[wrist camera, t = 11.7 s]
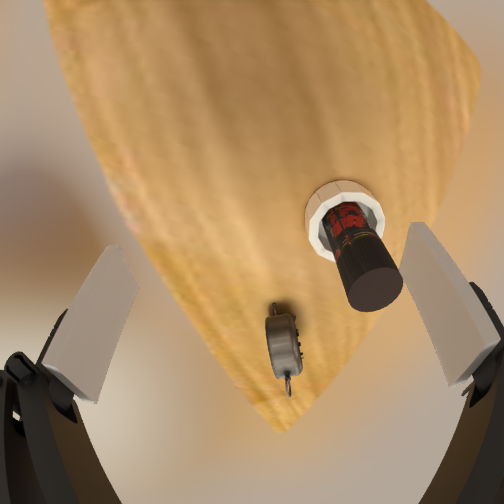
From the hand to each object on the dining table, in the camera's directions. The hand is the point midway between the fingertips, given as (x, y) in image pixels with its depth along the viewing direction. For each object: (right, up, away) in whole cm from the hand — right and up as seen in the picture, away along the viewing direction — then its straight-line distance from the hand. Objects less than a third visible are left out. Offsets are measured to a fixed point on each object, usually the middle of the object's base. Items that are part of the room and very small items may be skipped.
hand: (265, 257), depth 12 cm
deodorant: (+12, +5, +26) cm, 29 cm away
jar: (+12, +6, +26) cm, 29 cm away
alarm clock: (+5, -12, +39) cm, 41 cm away
